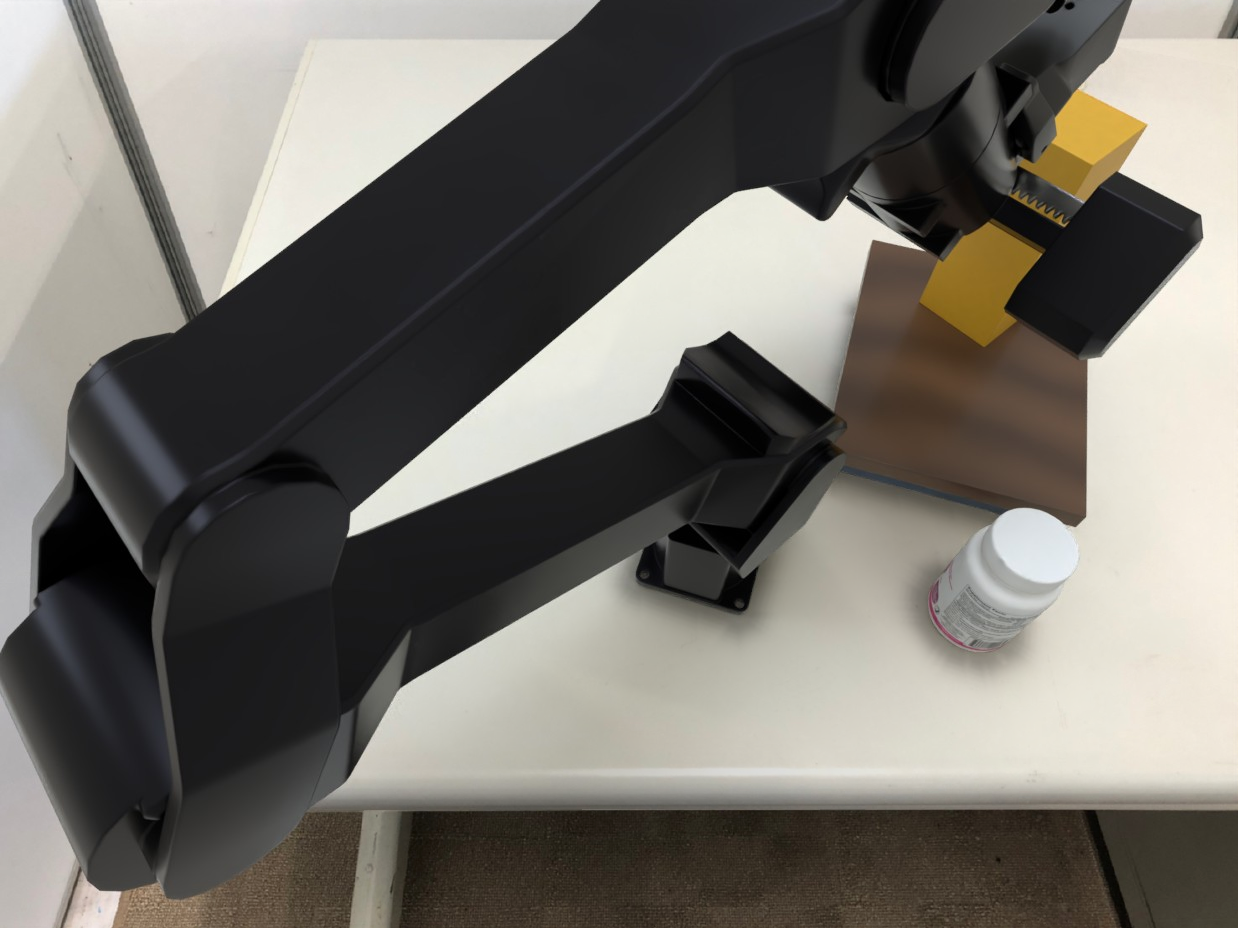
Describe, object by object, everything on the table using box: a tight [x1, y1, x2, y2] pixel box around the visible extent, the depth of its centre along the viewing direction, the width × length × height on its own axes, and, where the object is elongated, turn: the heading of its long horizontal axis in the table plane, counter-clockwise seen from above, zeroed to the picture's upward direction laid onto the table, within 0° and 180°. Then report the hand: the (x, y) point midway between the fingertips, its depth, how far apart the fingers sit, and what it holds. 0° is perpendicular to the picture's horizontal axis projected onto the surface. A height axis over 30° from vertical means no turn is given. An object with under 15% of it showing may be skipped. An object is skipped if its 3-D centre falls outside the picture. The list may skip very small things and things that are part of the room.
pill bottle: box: [927, 508, 1080, 653], centre depth 40 cm, size 5×5×8 cm
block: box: [919, 88, 1148, 347], centre depth 45 cm, size 5×5×13 cm
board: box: [831, 239, 1089, 528], centre depth 50 cm, size 18×14×5 cm
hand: (972, 230), depth 41 cm, fingers open, 9 cm apart
